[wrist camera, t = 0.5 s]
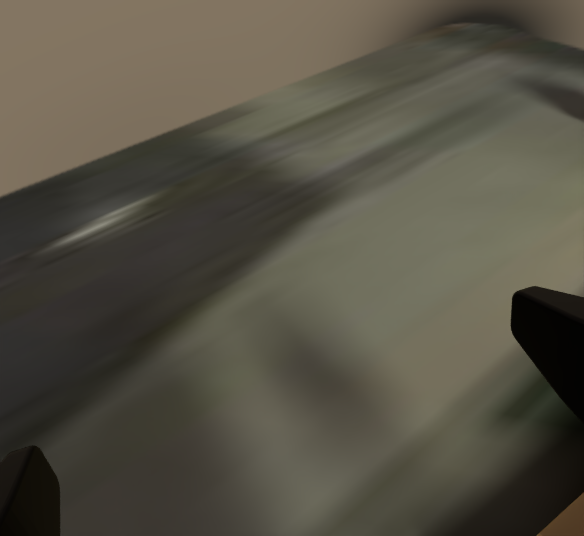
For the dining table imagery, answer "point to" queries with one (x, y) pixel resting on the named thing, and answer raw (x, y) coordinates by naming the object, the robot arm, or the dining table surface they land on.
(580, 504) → the hole block
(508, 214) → the dining table surface
